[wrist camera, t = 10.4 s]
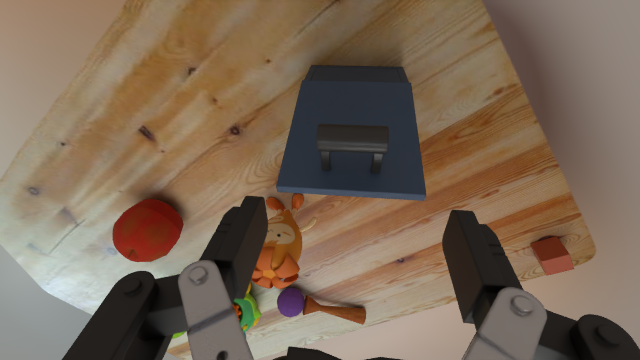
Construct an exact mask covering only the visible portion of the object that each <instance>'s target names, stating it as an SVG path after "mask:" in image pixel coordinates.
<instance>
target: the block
mask: <svg viewBox="0 0 640 360" xmlns="http://www.w3.org/2000/svg"><path fill="white" fill-rule="evenodd" d="M530 244H531V246H532V249H533V251H534V254H535V256H536V258H537V260H538V262H539V263H540V265H541V267H542V268H543V270H544V272H545V273H546V275H551V274H555V273H560V272H564V271H568V270H572V269H574V267H573V263H572V260H571V257H570V254H569V253H568V251H567V250H566V249H565V247H564V246H563V244H562V243H561V242H560V240H559V239H558V237H557V236H555V237H551V238H548V239H544V240H541V241H537V242H534V243H530Z"/></svg>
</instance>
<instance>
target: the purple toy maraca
mask: <svg viewBox="0 0 640 360" xmlns="http://www.w3.org/2000/svg"><path fill="white" fill-rule="evenodd" d="M277 305H278V309H279V311H280V313H281V314H283V315H284V316H287V317H293V316H297V315H298V314H299V313H301V311H302V310H303V315H306V314H309V313H313V312H316V311H323V312H326V313H329V314H332V315H335V316H338V317H341V318H344V319H347V320H350V321H353V322H356V323H360V324H364V322H365V319H366V311H365V309H362V308H349V307H336V306H323V305H320V304H318V303H317V302H316V301H314V300H313V299H312V298H311V297H309V296H308V295H306V297H305V300H304V296H303V294H302V293H301V291H299V290H298V289H296V288H292V287H291V288H287V289H285V290H283V291H282V292H281V293H280V295H279V296H278V299H277Z"/></svg>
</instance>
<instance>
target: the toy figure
mask: <svg viewBox="0 0 640 360" xmlns="http://www.w3.org/2000/svg"><path fill="white" fill-rule="evenodd" d="M303 201H304V197H303V196H302V195H301V194H295V195H294V196H293V198H292V214H291V212H290V211H289V210H285V207H284V206H283V205H282V204H281V203H280V202H279V201H278V200H277V199H275V198H273V197H269V198H267V200H266V204H267V206H268V207H269V208H271V209H273V210H277V214H276V216H275V217H273V218H271V219H269V220H268V232H267V236H266V239H265V242H264V244H263V247H262V250H261V253H260V256H259V258H258V261H257V264H256V267H255V270H254V273H253V275H252V281H253V282H254V283H256V284H258V285H260V286H262V287H265V288H272V287H273V285H274V286H275V287H276V288H278V289H282V288H285V287H287V286H288V285H290V284H292V283H293V282H294V281H296V280H297V278H298V274H297V273H298V272H299V270H300V268H299V266H298V264H297V262H298V260H299V258H300V255H301V250H302V236H301V232H304V231H306V230H308V229H309V228H311V227H312V226H313V225H314V224H315V223H316V221H317V218H316V217H313V218H312V220H311V221H310V222H309V223H308V224H307V225H305V226H304V227H301V228H299V227H298V225H297V224H296V222H295V220H294V218H295V215H296V213H297V211H298V209H299V208H300V206H301V205H302V204H303ZM284 210H285V211H284ZM283 278H285V279H284V282H282V281H281V279H283Z"/></svg>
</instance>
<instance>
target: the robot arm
mask: <svg viewBox="0 0 640 360" xmlns="http://www.w3.org/2000/svg"><path fill="white" fill-rule="evenodd" d="M267 232H268V219H267V213H266V206H265V200H264V198H263V197H257V196H246V197H245V198H244V200H243V202H242V204H241V206H240V207H232V208H231V209H230V210H229V211H228V212H227V213H225V215H224V216H223V218H222V220H221V222H220V225H218V227H217V229H216V232H215V233H214V234H213V236H212V238H211V240H210V242H209V243H208V245H207V247H206V249H205V251H204V252H203V254H202V256H201V258H200V259H199V261H197V262H194V263H192V264H190V265H188V266H187V267H186V268H185V269H184V270H183V271H182V272H181V274H178V275H174V276H169V277H164V278H158V279H155V278H154V276H153V275H152V274H151V273H150V272H147V271H137V272H133V273H131V274H128V275H126V276H125V277H123V278H122V279H120V280H119V281H118V282H117V283H116V284H115V285H114V287H113V288H112V289H111V291H110V292H109V294H108V295H107V296H106V298H105V299H104V301H103V302H102V303H101V305H100V306H99V308H98V309H97V311H96V312H95V313H94V315H93V316H92V318H91V319H90V321H89V322H88V323H87V325H86V326H85V328H84V329H83V330H82V332H81V333H80V335H79V336H78V338H77V339H76V340H75V342H74V343H73V345H72V346H71V348H70V349H69V350H68V352H67V353H66V355H65V356H64V357H63V359H62V360H162V359H163V357H164V355H165V352H166V350H167V348H168V346H169V343H170V341H171V339H172V337H173V335H174V334H176V333H180V332H185V331H187V336H188V341H189V345H190V350H191V354H192V358H193V360H254V359H253V356H252V354H251V351H250V348H249V346H248V343H247V341H246V338H245V335H244V333H243V330H242V328H241V325H240V322H239V320H238V317H237V315H236V312H235V310H234V308H233V306H232V305H233V303H234V300H235V299H244V298H245V295H246V292H247V289H248V287H249V284H250V281H251V278H252V275H253V273H254V270H255V267H256V264H257V261H258V258H259V256H260V253H261V250H262V247H263V244H264V242H265V239H266V236H267ZM442 246H443V252H444V255H445V259H446V262H447V266H448V269H449V273H450V276H451V280H452V284H453V287H454V291H455V294H456V298H457V301H458V305H459V309H460V312H461V315H462V319H463V322H464V323H471V324H475V327H476V331H477V332H476V334H475V335H474V337H473V339H472V341H471V343H470V345H469V347H468V348H467V350H466V352H465V354H464V356H463V358H462V360H640V349H639V348H638V346H637V345H636V343H635V342H634V340H633V339H632V337H631V336H630V335H629V334H628V333H627V332H626V331H625V330H624V329H623V328H621V327H620V326H619V325H617V324H616V323H614V322H612V321H611V320H609V319H607V318H604V317H601V316H598V315H591V314H588V315H584V316H582V317H581V318H580V319H579V320H578V321H576V320H573V319H570V318H567V317H564V316H561V315H559V314H556V313H553V312H550V311H548V310H546V309H545V308H544V306H543V305H542V304H541V302H540V301H539V300H538V299H537V298H535V297H534V296H533V295H532V294H530V293H528V292H526V291H524V290H523V288H522V286H521V284H520V282H519V280H518V278H517V276H516V274H515V272H514V270H513V268H512V266H511V264H510V262H509V260H508V258H507V256H505V252H504V250H503V248H502V247H501V244H500V242H499V240H498V238H497V236H496V234H495V233H494V232H493V231H492V230H491V229H490V228H489V227H488V226H487V225H486V224H479V223H478V221H477V218H476V216H475V214H474V212H473V211H464V210H452V211H451V213H450V216H449V219H448V222H447V225H446V228H445V231H444V235H443V240H442ZM273 360H341V359H339V358H337V357H334V356H332V355H329V354H327V353H324V352H322V351H320V350H314V349H307V348H298V347H288V352H287V356H281V357H278V358H275V359H273ZM366 360H400V359H392V358H384V357H378V358H372V359H366Z"/></svg>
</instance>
